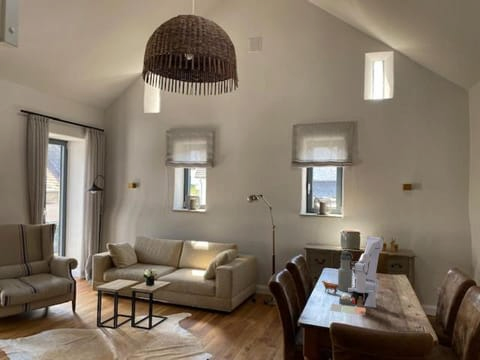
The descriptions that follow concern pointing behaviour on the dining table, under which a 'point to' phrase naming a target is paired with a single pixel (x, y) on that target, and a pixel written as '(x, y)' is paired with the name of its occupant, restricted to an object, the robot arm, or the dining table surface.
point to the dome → (345, 296)
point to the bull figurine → (330, 286)
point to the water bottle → (345, 271)
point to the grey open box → (347, 301)
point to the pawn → (360, 302)
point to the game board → (348, 309)
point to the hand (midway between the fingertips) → (360, 304)
